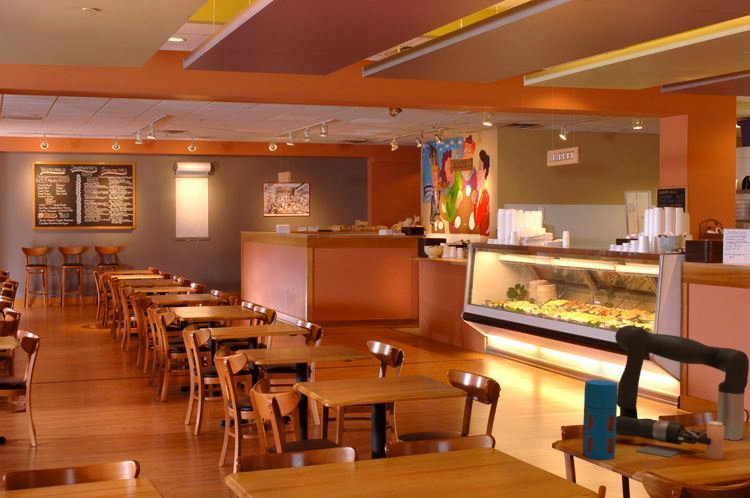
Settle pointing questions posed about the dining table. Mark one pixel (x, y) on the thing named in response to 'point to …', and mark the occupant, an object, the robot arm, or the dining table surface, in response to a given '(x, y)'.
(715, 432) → the terracotta shaker
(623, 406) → the robot arm
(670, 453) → the charcoal mat
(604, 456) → the thermos
